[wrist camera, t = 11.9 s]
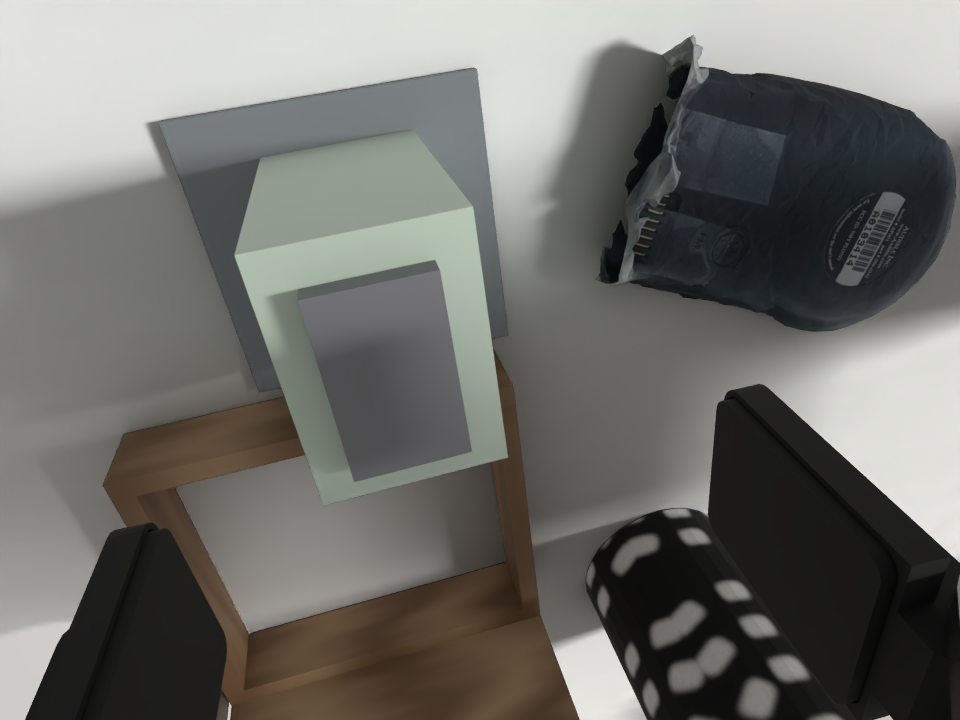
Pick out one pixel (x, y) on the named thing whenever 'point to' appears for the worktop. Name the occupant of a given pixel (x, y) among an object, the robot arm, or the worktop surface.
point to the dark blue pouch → (782, 197)
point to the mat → (320, 122)
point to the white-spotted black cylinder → (697, 628)
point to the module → (373, 312)
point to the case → (368, 625)
